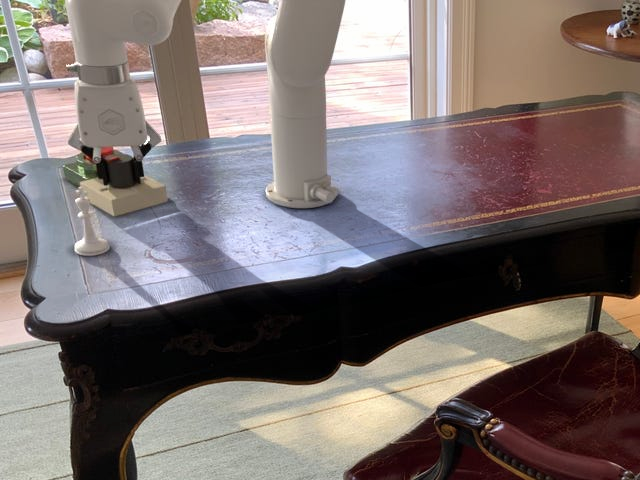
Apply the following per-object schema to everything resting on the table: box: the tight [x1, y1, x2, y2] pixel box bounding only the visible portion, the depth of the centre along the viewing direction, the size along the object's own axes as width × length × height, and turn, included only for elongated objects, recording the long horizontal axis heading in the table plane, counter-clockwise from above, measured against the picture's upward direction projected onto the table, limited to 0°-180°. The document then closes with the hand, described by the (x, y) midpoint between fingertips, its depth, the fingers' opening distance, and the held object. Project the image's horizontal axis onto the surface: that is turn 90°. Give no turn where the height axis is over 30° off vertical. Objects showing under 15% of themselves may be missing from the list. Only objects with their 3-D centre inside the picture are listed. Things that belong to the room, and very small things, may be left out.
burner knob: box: [104, 153, 136, 188], centre depth 138 cm, size 4×4×5 cm
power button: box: [85, 147, 115, 161], centre depth 145 cm, size 5×5×2 cm
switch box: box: [62, 149, 124, 188], centre depth 147 cm, size 10×8×4 cm
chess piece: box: [74, 187, 111, 257], centre depth 123 cm, size 5×5×10 cm
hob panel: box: [80, 174, 169, 217], centre depth 141 cm, size 10×10×3 cm
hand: (122, 180), depth 139 cm, fingers closed on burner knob, 4 cm apart
